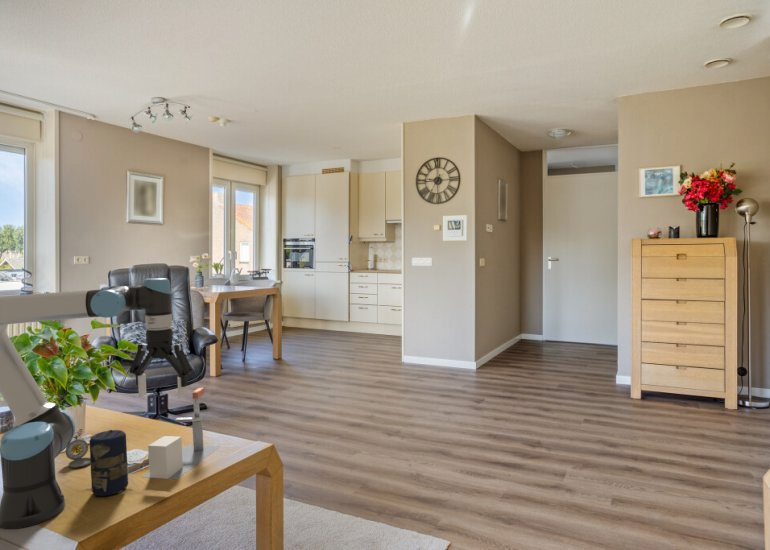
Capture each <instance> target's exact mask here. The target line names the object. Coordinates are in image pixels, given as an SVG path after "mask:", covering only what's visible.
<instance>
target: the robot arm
mask: <svg viewBox="0 0 770 550" xmlns="http://www.w3.org/2000/svg"><path fill="white" fill-rule="evenodd" d="M143 310H144V316H145V317H144V318H145V328H146V330H145V340H146V342H143V343H139V344H137V351H136V354H135V355H134V356H135V357H134V359H133V361H132V364H131V366H130V368H129V373H130V374H134V375H135V385H136V386H137V387H138V389H137V390H138V397H139V398H141V397H144V396H146V395H147V373H145V371H146V369H147V368H148V367H149V366H150V364H151V363H152V361H153V360H154V359H155V360H157V359H160V360H165V361H167V362H168V363H169V364H170V365H171V367H172V368H173V369H174V371H176V373H177V374H178V376H177V396H178V399H182V398H184V397H186V387H187V386H188V375H191V374H193V372H194V370H193V368H192V366H191V364H190V361H189V360H188V358H187V355H186V354H185V351H184V349H183V348H184V347H183V344H182V343H177V344H173V339H174V337H173V333H174V332H173V330H174V329H173V328H172V326H173V313H172V311H173V310H172V291H171V282H170V280H169V278H167V277H165V278H164V277H158V278H157V277H156V278H145V279H144V280H143V283H142V285H112V286H103V287H102V288H100V289H92V290H77V291H76V290H74V291H62V292H60V291H58V292H45V293H43V292H42V293H30V294H27V293H26V294H16V295H15V294H14V295H12V294H11V295H2V296H1V295H0V395H1V397H2V399H3V400H4V402H5V404H6V405H7V407H8V409H9V411H10V412H11V413H12V415H13V417H14V422H13V424H12V428H10V429H8V431H6V432H5V433H4V434H3V435H2V436H1V438H0V464H1V478H2V479H1V480H2V490H3V491H2V495H1V499H0V528H2V529H22V528H25V527H30V526H35V525H36V524H40V523H43V522H45V521H47V520H49V519H52V518H54V517H55V516H57V515H59V514H60V513H61V512H62V511H63V510H64V509H65V507H66V506H65V505H66V503H65V501H66V500H65V496H64V494H63V493H62V490H61V487H60V485H59V484H58V481H57V480H56V479H57V478H56V477H57V476H56V464H55V461H56V460H55V459H56V458H57V457H58V456H59V455H60V454H61V453H62V452H63V451H64V450H66V448H67V446H68V445H69V444H70V443H71V442H72V441H73V439H74V438H73V437H75V434H76V423H75V421H74V419H73V418H72V416H71V415H70V414H68V413H67V412H64V411H61V410H60V408H59V407H58V405H57V404H56V403H55V402H50V401H48V400H47V398H46V397H45V395H44V393H43V391H42V390H41V388H40V387H39V385H38V383H37V381H36V379H35V378H34V376H33V375H32V373H31V371H30V370H29V368H28V366H27V365H26V363H25V362H24V360H23V358H22V357H21V354H20V353H19V351H18V350H17V348H16V347H15V345H14V343H13V341H12V340H11V338H10V336H9V335H8V333H7V331H6V330H7V327H8V325H15V324H25V323H26V324H27V323H36V322H39V323H40V322H51V321H62V320H63V321H64V320H75V319H85V318H108V319H109V318H113V317H117V316H118V315H120V314H122V313H123V312H129V311H143ZM146 351H147V352H148V353H147V354H146ZM145 354H146V356H145ZM143 359H144V360H143Z"/></svg>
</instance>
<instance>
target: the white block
mask: <svg viewBox="0 0 770 550" xmlns="http://www.w3.org/2000/svg"><path fill="white" fill-rule="evenodd" d="M182 443H183V442H182V436H173V435H169V436H168V435H164V436H162V437H160V438H159V439H157V440H155V441H153V442H152V443H150V444H148V445H147V447H148V448H147V450H148V469H149V472H150V478H149V479H161V478H163V479H162V480H169V479H168V478H169V477H171V476H172V475H173V474H175V473H176V472H177V471H179V470H180V469H181V468H183V461H182V449H183V445H182Z"/></svg>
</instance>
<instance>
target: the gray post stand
mask: <svg viewBox="0 0 770 550" xmlns="http://www.w3.org/2000/svg"><path fill="white" fill-rule="evenodd" d="M191 422H192V424H191V425H192V442H193V444H188V445H187V446H185V447H184V448H182V461H183V468H181V469H180V470H179V471H177V472H176V473H175V474H173V475H172V476H171V477H169V478H168V479H167V480H178V479H180V477H182V476H184V474H186V473H188V471H190V470H191V469H192V468H194V467H196V465H198V464H199V463H201V462H202V461H203V460H204V459H205V458H207V457H209V456H210V455H211V454H212V453H214V452H215V451H217V450H218V449H219V448H221V446H220V445H206V444H205V445H204V434H203V433H204V432H203V429H204V428H203V419H202V420H201V421H199V422H193V421H191ZM141 478H147V479H151V478H150V471H148V472H146V473H145V474H144V475H141ZM161 479H162V480H164V479H163V478H160V480H161Z"/></svg>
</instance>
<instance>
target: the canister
mask: <svg viewBox="0 0 770 550" xmlns="http://www.w3.org/2000/svg"><path fill="white" fill-rule="evenodd" d="M127 451H128V447H127V434H126V432H125V431H124V430H120V429H109V430H105V431H102V432H97V433H96V434H94V435H92V436H91V437H90V439H89V458H90V464H89V465H90V476H91V477H90V478H91V491H92V493H93V495H95V496H99V497H103V496H104V497H105V496H111V495H114V494H118V493H120V492H122V491H123V490H125V489H126V487H127V486H128V485H129V469H128V468H129V465H128V453H127Z"/></svg>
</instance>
